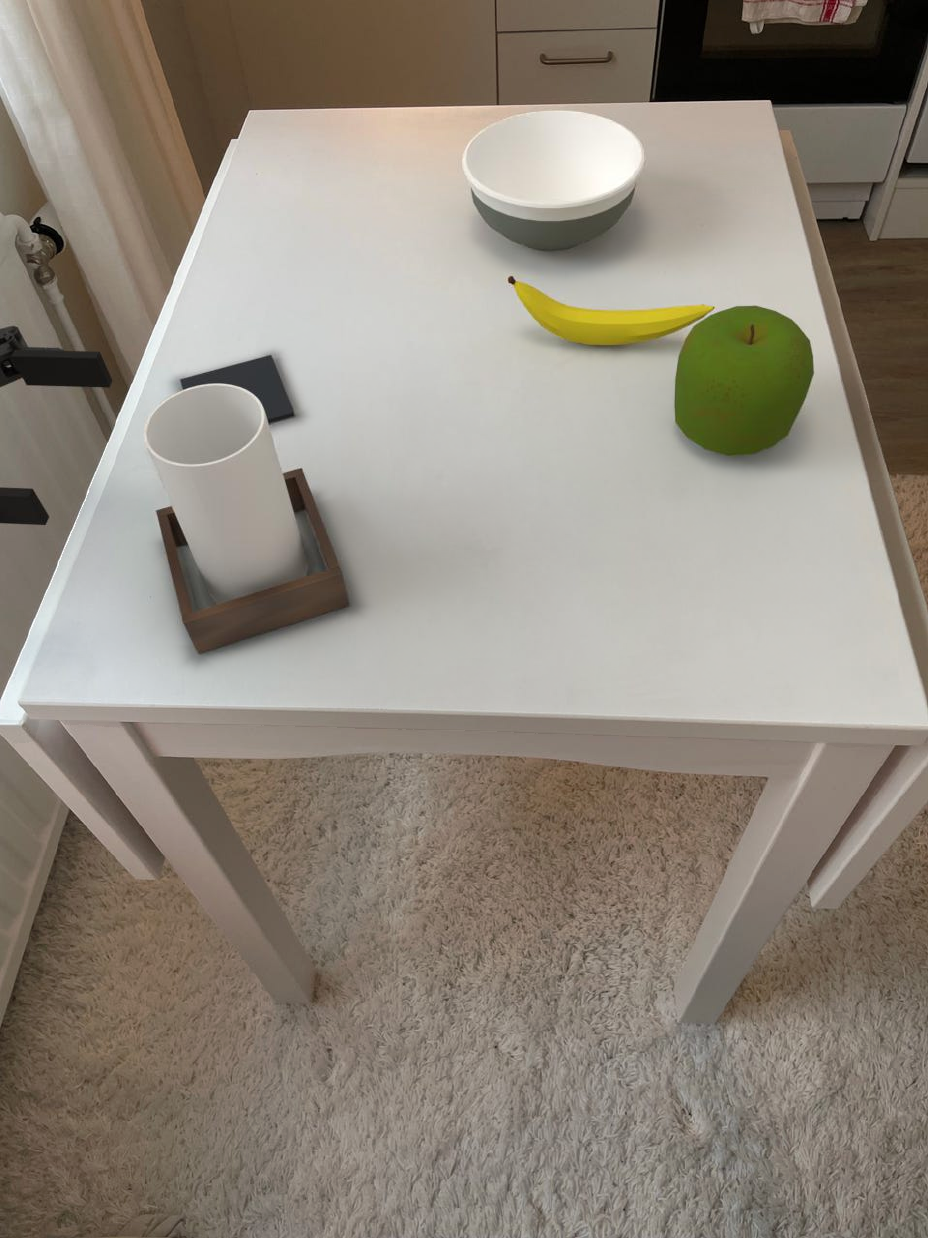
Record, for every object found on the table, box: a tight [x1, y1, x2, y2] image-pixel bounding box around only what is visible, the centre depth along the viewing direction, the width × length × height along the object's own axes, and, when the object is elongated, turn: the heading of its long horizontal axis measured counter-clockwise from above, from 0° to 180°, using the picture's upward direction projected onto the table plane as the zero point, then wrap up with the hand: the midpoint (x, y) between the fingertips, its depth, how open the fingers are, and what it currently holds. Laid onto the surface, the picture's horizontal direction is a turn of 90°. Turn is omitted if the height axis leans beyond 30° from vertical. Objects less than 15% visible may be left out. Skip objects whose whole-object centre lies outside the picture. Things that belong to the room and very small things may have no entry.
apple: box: [673, 305, 815, 457], centre depth 80 cm, size 11×11×11 cm
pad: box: [179, 354, 296, 425], centre depth 89 cm, size 9×9×1 cm
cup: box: [143, 384, 309, 604], centre depth 70 cm, size 8×8×16 cm
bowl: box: [461, 109, 646, 252], centre depth 100 cm, size 19×19×8 cm
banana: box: [507, 275, 715, 346], centre depth 89 cm, size 3×19×6 cm, turn 78°
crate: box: [155, 467, 351, 655], centre depth 75 cm, size 12×12×4 cm
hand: (74, 434), depth 66 cm, fingers open, 13 cm apart
